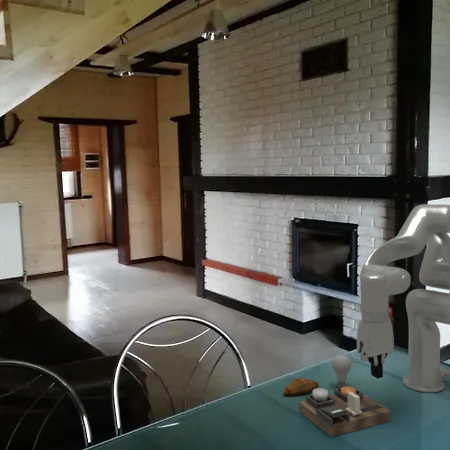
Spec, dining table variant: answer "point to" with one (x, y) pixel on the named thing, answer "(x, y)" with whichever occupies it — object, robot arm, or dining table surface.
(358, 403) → the cream stepped block
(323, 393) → the grey button
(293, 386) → the croissant
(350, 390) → the orange button
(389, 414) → the panel
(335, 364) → the lightbulb
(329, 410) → the rocker
